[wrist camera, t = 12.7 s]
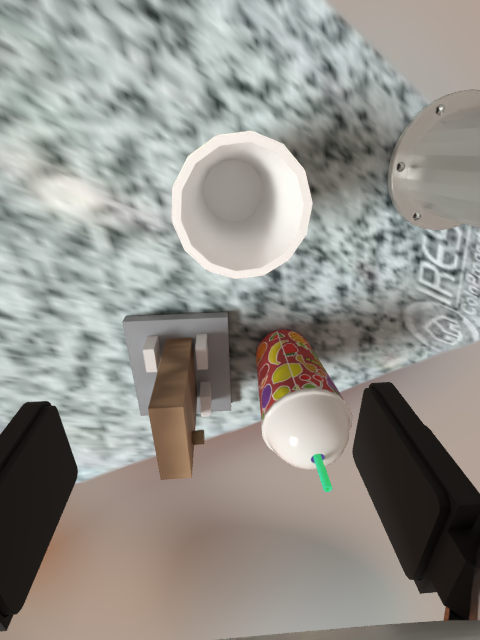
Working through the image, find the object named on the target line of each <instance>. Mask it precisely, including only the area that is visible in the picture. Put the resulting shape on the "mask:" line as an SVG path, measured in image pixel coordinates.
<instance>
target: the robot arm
mask: <svg viewBox="0 0 480 640" xmlns="http://www.w3.org/2000/svg"><path fill="white" fill-rule="evenodd" d="M436 109H437V111H436ZM397 164H398V166H399V167H398V168H397V169H396V167H397ZM388 189H389V195H390V198H391V201H392V203H393V206H394V207H395V209H396V210H397V212H398V213H399V214H400V215H401V216H402V217H403V218H404V219H405V220H406V221H408V222H410V223H411V224H413V225H415V226H418V227H421V228H424V229H430V230H444V229H449V228H453V227H456V226H459V225H461V224H467V225H471V226H474V227H478V228H480V90H465V91H459V92H455V93H451V94H448V95H446V96H444V97H442V98H439V99H437V100H435V101H433V102H432V103H431V104H429V105H428V106H426V107H425V108H423V109H422V110H421V111H420V112H419V113H418V114H417V115H416V116H415V117H414V118H413V119H412V120H411V121H410V123H409V124H408V125H407V126H406V128H405V129H404V130H403V132H402V134H401V136H400V137H399V139H398V141H397V143H396V145H395V147H394V150H393V153H392V155H391V159H390V164H389V168H388ZM413 215H414V216H413ZM353 458H354V461H355V464H356V466H357V468H358V470H359V473H360V475H361V477H362V479H363V482H364V484H365V486H366V488H367V490H368V492H369V495H370V497H371V499H372V502H373V504H374V506H375V508H376V510H377V513H378V515H379V517H380V519H381V522H382V524H383V526H384V528H385V530H386V533H387V535H388V537H389V539H390V542H391V544H392V546H393V548H394V550H395V553H396V555H397V557H398V559H399V561H400V564H401V566H402V568H403V570H404V572H405V574H406V576H407V577H408V578H409V579H410V580H414V581H415V584H416V586H417V588H418V590H419V592H420V594H421V593H432V592H437V593H438V595H439V597H440V599H441V601H442V603H443V604H444V606H446V608H445V614H444V621H433V622H417V623H402V624H387V625H374V626H364V627H351V628H341V629H329V630H319V631H306V632H295V633H284V634H272V635H262V636H252V637H241V638H230V639H219V640H480V493H479V492H478V491H477V490H476V488H475V487H474V486H473V484H472V483H471V482H470V481H469V479H468V478H467V477H466V475H465V474H464V473H463V471H462V470H461V469H460V468H459V466H458V465H457V464H456V463H455V461H454V460H453V459H452V457H451V456H450V455H449V453H448V452H447V451H446V450H445V448H444V447H443V446H442V444H441V443H440V442H439V440H438V439H437V438H436V437H435V435H434V434H433V433H432V431H431V430H430V429H429V428H428V427H427V426H425V425H424V424H423V423H422V421H421V420H420V419H419V418H418V416H417V415H416V414H415V412H414V411H413V410H412V409H411V407H410V406H409V404H408V403H407V402H406V401H405V399H404V398H403V397H402V395H401V394H400V393H399V391H398V390H397V389H396V388H395V386H394V385H393V384H392V383H390V382H382V383H371V384H370V385H369V388H366V389H365V390H364V393H363V398H362V404H361V408H360V413H359V419H358V424H357V429H356V435H355V440H354V445H353ZM77 474H78V469H77V465H76V462H75V459H74V457H73V454H72V451H71V448H70V445H69V442H68V439H67V436H66V433H65V430H64V427H63V424H62V422H61V419H60V416H59V413H58V410H57V408H56V407H55V406H51V404H50V403H49V402H48V401H40V402H27V403H25V404H24V405H23V406H22V407H21V408H20V409H19V411H18V412H17V413H16V415H15V416H14V417H13V419H12V420H11V421H10V423H9V424H8V425H7V427H6V428H5V429H4V431H3V432H2V433H1V434H0V631H7V628H8V626H9V624H10V621H11V619H12V617H13V615H14V614H17V613H18V612H19V611H20V610H21V608H22V607H23V605H24V603H25V600H26V598H27V595H28V593H29V591H30V588H31V586H32V583H33V581H34V579H35V577H36V574H37V572H38V569H39V567H40V565H41V562H42V560H43V558H44V555H45V553H46V551H47V548H48V546H49V543H50V541H51V539H52V536H53V534H54V532H55V529H56V527H57V525H58V522H59V520H60V517H61V514H62V513H63V510H64V508H65V506H66V503H67V501H68V498H69V496H70V494H71V491H72V489H73V487H74V484H75V482H76V479H77Z"/></svg>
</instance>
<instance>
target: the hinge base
mask: <svg viewBox="0 0 480 640" xmlns="http://www.w3.org/2000/svg"><path fill="white" fill-rule="evenodd" d="M123 327H124V332H125V338H126V343H127V348H128V353H129V358H130V363H131V368H132V373H133V378H134V383H135V388H136V393H137V399H138V404H139V409H140V414H141V416H145V415H149V412H148V407H149V403H150V399H151V395H152V391H153V388H154V384H155V380H156V376H157V372H158V368H159V365H160V361H161V357H162V353H163V349H164V345H165V341H166V339H174V338H192V346H193V356H194V367H195V378H196V388H197V410H196V412H201V417H203V416H211V412H213V411H231V392H230V363H229V335H228V313H227V312H212V313H189V314H165V315H142V316H125V318H124V320H123Z"/></svg>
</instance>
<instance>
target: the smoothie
mask: <svg viewBox="0 0 480 640" xmlns="http://www.w3.org/2000/svg"><path fill="white" fill-rule="evenodd" d="M256 364H257V375H258V386H259V398H260V409H261V420H262V437H263V439H264V441H265V443H266V444H267V446H268V447H269V448H270V449H271V450H273V451H274V452H275V453H276V454H277V455H278V456H279V457H280V458H281V459H283V460H284V461H285V462H286V463H288V464H289V465H292V466H294V467H297V468H300V469H305V470H314V469H317V471H318V473H319V477H320V480H321V483H322V486H323V489H324V491H325V492H329V491H331V490H332V486H331V483H330V480H329V477H328V474H327V471H326V468H325V467H326V466H328V465H330V464H332V463H333V462H335V461H336V460H337V459H338V458H339V457H340V456H341V454H342V453H343V451H344V449H345V447H346V445H347V443H348V439H349V431H350V429H351V427H352V413H351V411H350V408H349V406H348V404H347V403H346V402H345V401H344V399H343V397H342V396H341V394H340V393H339V391H338V390H337V388H336V386H335V385H334V383H333V382H332V380H331V378H330V377H329V375H328V374H327V372H326V370H325V369H324V367H323V366H322V364H321V362H320V361H319V359H318V358H317V356H316V355H315V353H314V351H313V350H312V348H311V347H310V345H309V343H308V342H307V340H306V339H305V338H304V337H303V336H302V335H301V334H298V333H296V332H294V331H290V330H284V329H282V330H276V331H273V332H271V333H269V334H268V335H267V336H265V337H264V338H263V340H262V341H261V342H260V344H259V346H258V347H257V351H256Z"/></svg>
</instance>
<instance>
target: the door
mask: <svg viewBox="0 0 480 640" xmlns="http://www.w3.org/2000/svg"><path fill="white" fill-rule="evenodd" d="M196 410H197V388H196V378H195V367H194V356H193V346H192V338H174V339H166V341H165V345H164V349H163V353H162V357H161V361H160V365H159V368H158V372H157V376H156V380H155V384H154V388H153V391H152V395H151V399H150V403H149V407H148V412H149V417H150V423H151V428H152V434H153V439H154V445H155V450H156V456H157V461H158V466H159V472H160V477H161V480H165V479H178V478H191V477H192V466H193V450H194V445H198V444H204V430H197V431H195V424H196Z"/></svg>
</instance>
